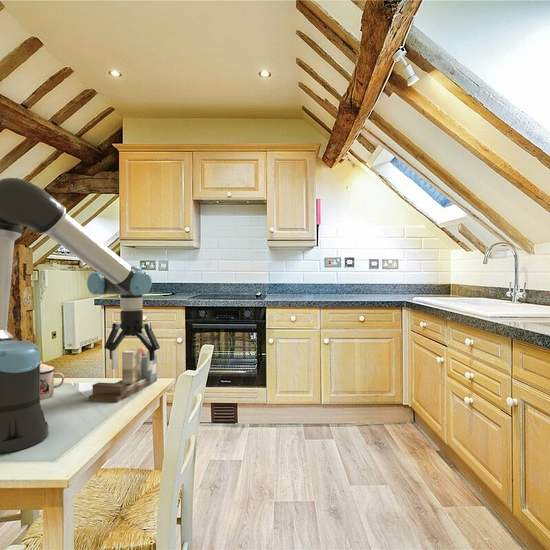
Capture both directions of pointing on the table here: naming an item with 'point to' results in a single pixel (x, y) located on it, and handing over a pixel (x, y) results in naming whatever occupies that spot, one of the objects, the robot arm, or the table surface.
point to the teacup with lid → (48, 381)
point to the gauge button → (142, 351)
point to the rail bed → (116, 390)
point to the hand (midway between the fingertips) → (132, 369)
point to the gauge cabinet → (151, 373)
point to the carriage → (131, 366)
